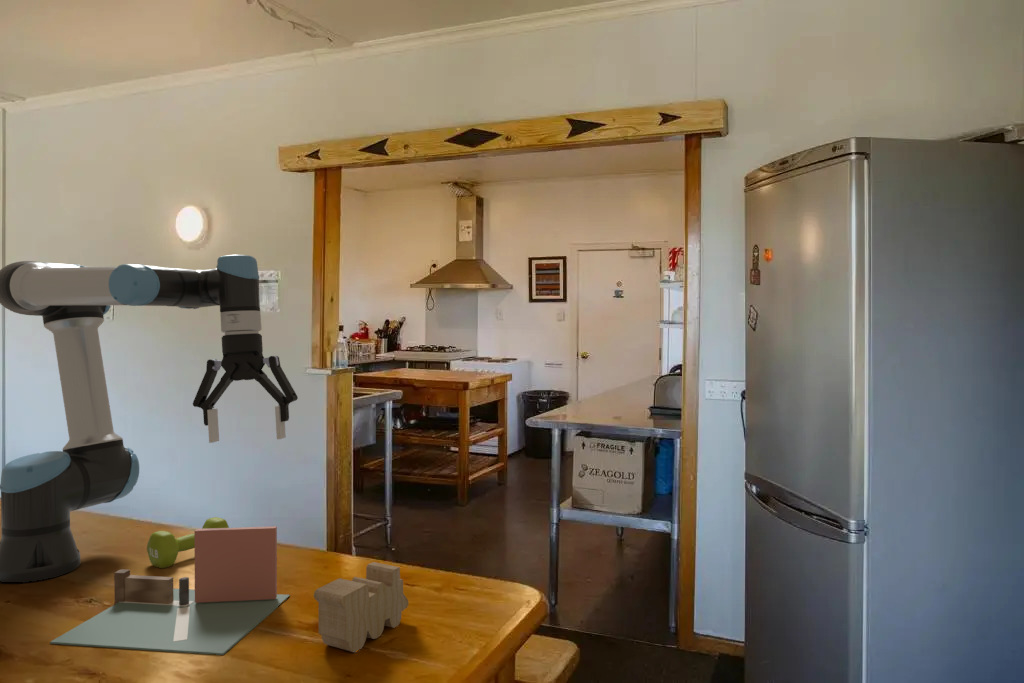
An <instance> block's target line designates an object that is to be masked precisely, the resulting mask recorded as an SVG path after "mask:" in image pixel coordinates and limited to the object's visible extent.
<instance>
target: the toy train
mask: <svg viewBox="0 0 1024 683" xmlns="http://www.w3.org/2000/svg"><path fill="white" fill-rule="evenodd" d="M365 570H366V573H365V575H366V576H365V578H363V577H358V576H354V577H352V578H351V580H349V579H346V578H345V579H344V578H337V579H335V580H332V581H331V582H329V583H326V584H325V585H323V586H322V585H321V587H319V588H316V589H315V591H313V592H314V593H313V598H314V599H315V601H316V602H318V634H319V635H320V636H321V639H322V643H323V644H325V645H327V646H329V647H332V648H337V649H341V650H344V651H346V652H352V653H357V652H356V651H357V650H359V649H361V650H362V648H363V647H364V646H365V642H366V641H367V638H369V639H372V640H375V639H377V638H379V637H380V636H381V635H382V634H383V631H384V628H385V626H386V627H389V628H395V627H396V626H397V627H398V626H399V625H400V623H401V620H402V614H403V613H402V612H403V611H404V610H406V609H407V608H408V607H409V600H408V598H407V597H406V595H405V594H404V579H402V578H401V573H400V571H401V568H400V566H395V565H391V564H386V563H380V562H377V561H372V562H370V563H368V564H367V565H366V568H365ZM397 627H396V628H397ZM396 628H395V629H396ZM359 651H360V650H359Z"/></svg>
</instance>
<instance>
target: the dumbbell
mask: <svg viewBox="0 0 1024 683" xmlns="http://www.w3.org/2000/svg"><path fill="white" fill-rule="evenodd" d="M209 528H230V527H229V524H228V521H227V520H226V519H225V518H222V517H217V516H214V517H209V518H208V519H206V520H205V521H204V524H203V525H202V528H201V529H209ZM192 549H195V538H194V532H193V533H189V534H186V535H183V536H179V537H175V535H174V533H171V532H170V531H168V530H158V531H154V532H152V533H151V535H150V537H149V539H148V541H147V546H146V551H147V555H148V558H149V562H150V564H151V565H152V566H153V567H156V568H158V567H159V569H165V568H166V569H167V568H169V566H170V567H172V566H173V565H174V564H175V562H176V560H177V559H178V558H177V557H178V554H179V553H182V552H185V551H189V550H192Z"/></svg>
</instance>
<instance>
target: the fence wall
mask: <svg viewBox="0 0 1024 683" xmlns="http://www.w3.org/2000/svg"><path fill="white" fill-rule="evenodd" d="M113 576H114V579H113V580H114V583H113V584H114V586H113V587H114V604H117V603H118V602H140V603H157V604H170V603H171V602H173V601H174V596H173V588H174V577H173V576H157V575H156V576H154V575H136V574H135V575H134V574H131V569H119V570H117V571H115V572H114V574H113ZM178 589H179V605H186V604H189V589H190V578H189V577H186V576H185V577H180V578H179V579H178Z"/></svg>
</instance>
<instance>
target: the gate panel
mask: <svg viewBox="0 0 1024 683" xmlns="http://www.w3.org/2000/svg"><path fill="white" fill-rule="evenodd" d="M277 528H278V526H273V525H272V526H271V525H270V526H251V527H250V526H247V527H246V526H242V527H229V528H209V529H202V528H196V529H195V530H194V532H193V533H194V538H195V548H194V590H195V603H200V602H221V601H243V600H264V599H276V597H277V594H278V555H277V554H278V541H277V540H278V536H277V535H278V532H277V531H278V529H277Z"/></svg>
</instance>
